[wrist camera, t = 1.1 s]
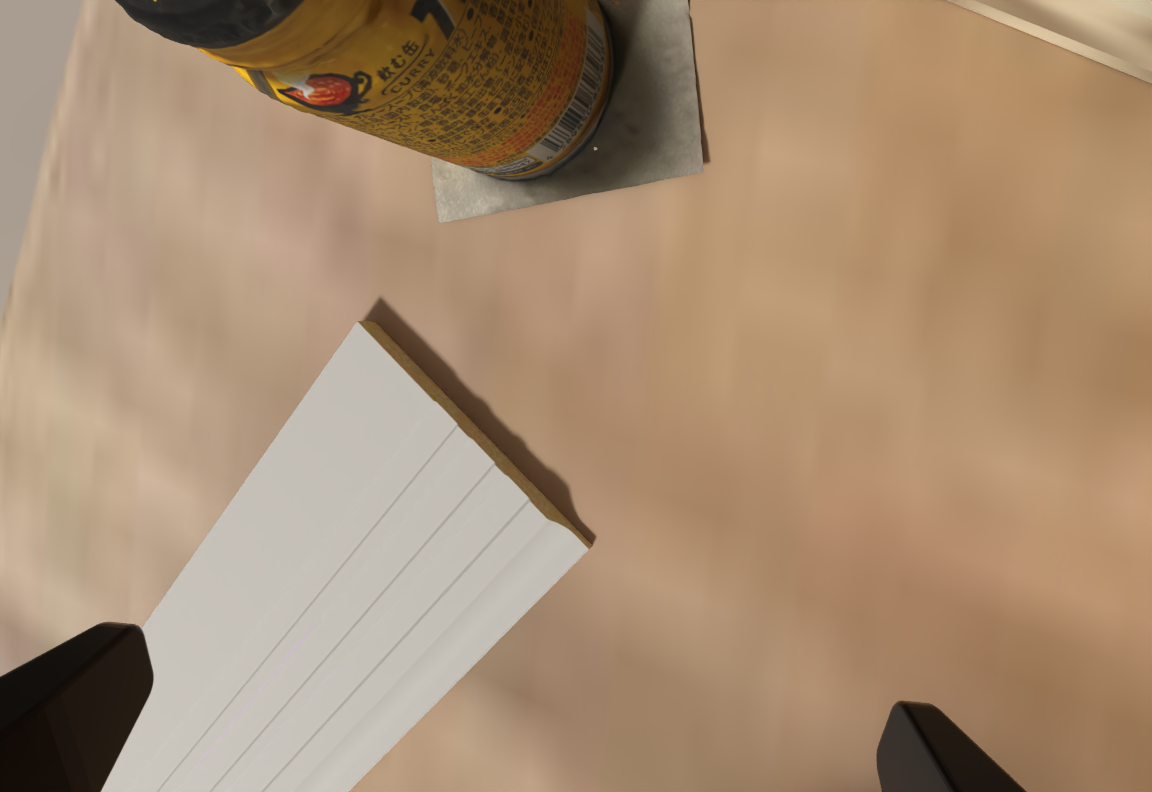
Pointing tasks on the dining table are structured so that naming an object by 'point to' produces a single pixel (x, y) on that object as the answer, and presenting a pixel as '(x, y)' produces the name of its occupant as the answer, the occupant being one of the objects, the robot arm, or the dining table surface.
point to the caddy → (1083, 27)
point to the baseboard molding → (341, 588)
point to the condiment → (474, 84)
